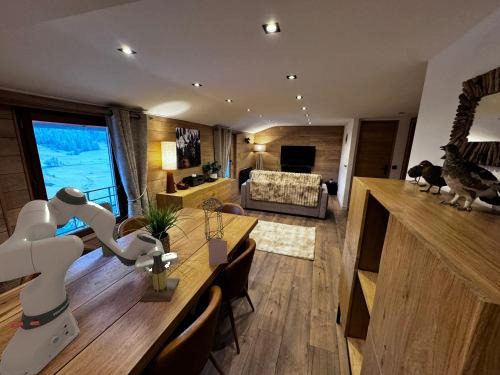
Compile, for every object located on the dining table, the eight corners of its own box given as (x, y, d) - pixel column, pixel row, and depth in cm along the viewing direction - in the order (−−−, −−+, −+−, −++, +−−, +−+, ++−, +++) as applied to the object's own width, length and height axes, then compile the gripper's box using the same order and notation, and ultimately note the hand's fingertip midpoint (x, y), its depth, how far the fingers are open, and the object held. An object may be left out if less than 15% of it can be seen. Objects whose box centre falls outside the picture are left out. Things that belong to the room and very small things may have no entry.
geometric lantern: (226, 243, 148) (225, 199, 140) (205, 247, 142) (203, 201, 134) (221, 234, 162) (220, 193, 154) (202, 237, 157) (200, 195, 148)
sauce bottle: (168, 283, 102) (166, 249, 98) (166, 292, 96) (163, 256, 92) (154, 285, 101) (152, 250, 96) (152, 294, 95) (149, 257, 91)
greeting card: (227, 261, 125) (227, 240, 122) (223, 268, 118) (222, 246, 115) (211, 258, 128) (211, 237, 125) (206, 265, 121) (205, 243, 118)
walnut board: (170, 301, 92) (169, 299, 92) (139, 302, 91) (139, 300, 91) (179, 280, 107) (179, 278, 107) (153, 280, 106) (152, 278, 106)
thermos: (109, 259, 125) (102, 206, 117) (98, 254, 129) (90, 204, 122) (123, 252, 132) (117, 203, 125) (112, 248, 137) (105, 200, 130)
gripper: (176, 257, 113) (181, 270, 101) (135, 266, 103) (135, 282, 91) (175, 247, 111) (180, 259, 100) (134, 256, 101) (134, 270, 90)
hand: (158, 270), depth 95 cm, fingers closed on sauce bottle, 6 cm apart
